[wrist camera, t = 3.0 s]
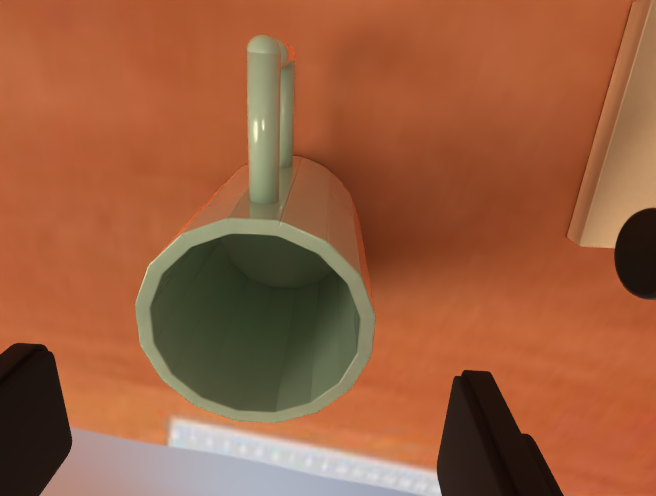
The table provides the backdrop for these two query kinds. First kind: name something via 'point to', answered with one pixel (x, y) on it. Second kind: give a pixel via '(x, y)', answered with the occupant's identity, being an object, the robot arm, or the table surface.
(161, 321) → the small mug
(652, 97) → the mug holder
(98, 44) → the table surface
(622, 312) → the table surface
